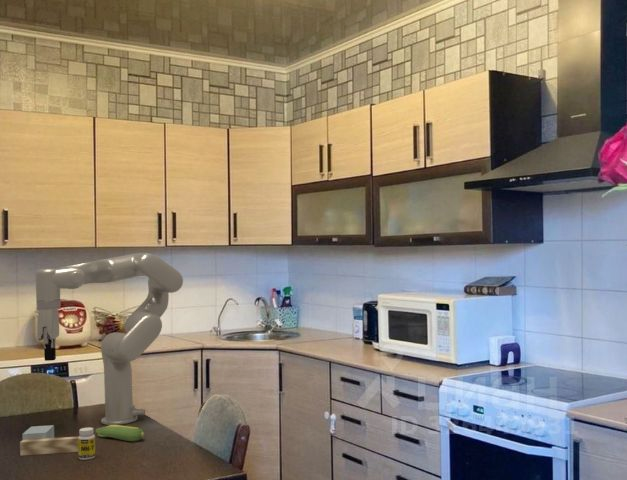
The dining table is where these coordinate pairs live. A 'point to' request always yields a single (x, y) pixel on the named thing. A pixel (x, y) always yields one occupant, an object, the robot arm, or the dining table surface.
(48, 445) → the board
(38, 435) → the block
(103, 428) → the edible corn
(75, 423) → the dining table surface
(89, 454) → the supplement bottle
